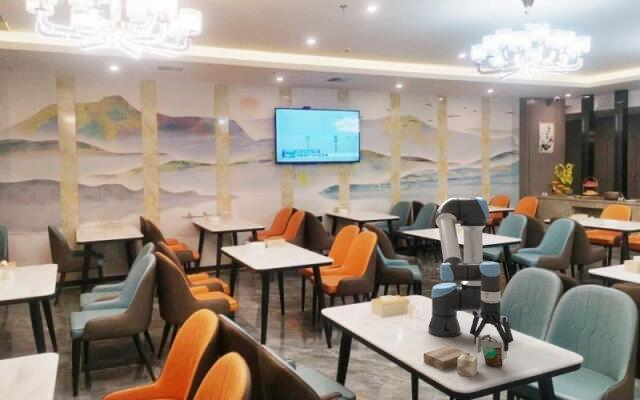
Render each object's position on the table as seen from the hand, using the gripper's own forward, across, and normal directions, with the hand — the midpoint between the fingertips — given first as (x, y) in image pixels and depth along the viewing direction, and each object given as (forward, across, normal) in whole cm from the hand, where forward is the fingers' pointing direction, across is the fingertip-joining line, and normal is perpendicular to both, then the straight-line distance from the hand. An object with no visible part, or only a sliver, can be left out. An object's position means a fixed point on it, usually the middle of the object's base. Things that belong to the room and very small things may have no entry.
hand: (491, 355), depth 211 cm
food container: (+4, 0, 0) cm, 4 cm away
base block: (+4, -14, -10) cm, 18 cm away
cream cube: (+4, -2, -14) cm, 14 cm away
